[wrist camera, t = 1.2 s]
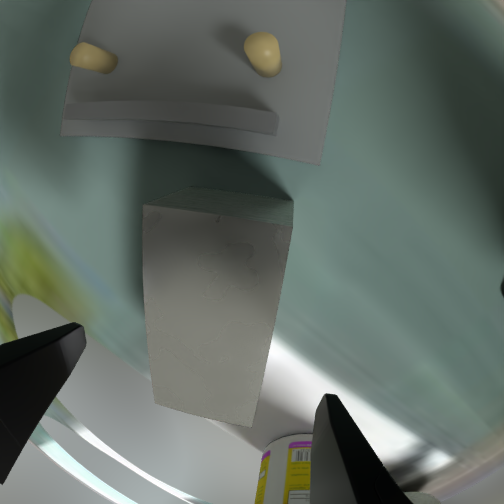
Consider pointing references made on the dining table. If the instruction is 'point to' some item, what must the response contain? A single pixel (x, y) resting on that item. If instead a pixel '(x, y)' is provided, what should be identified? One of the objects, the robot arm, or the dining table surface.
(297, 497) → the supplement bottle
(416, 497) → the cereal bowl
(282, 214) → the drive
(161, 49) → the tray
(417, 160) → the dining table surface
